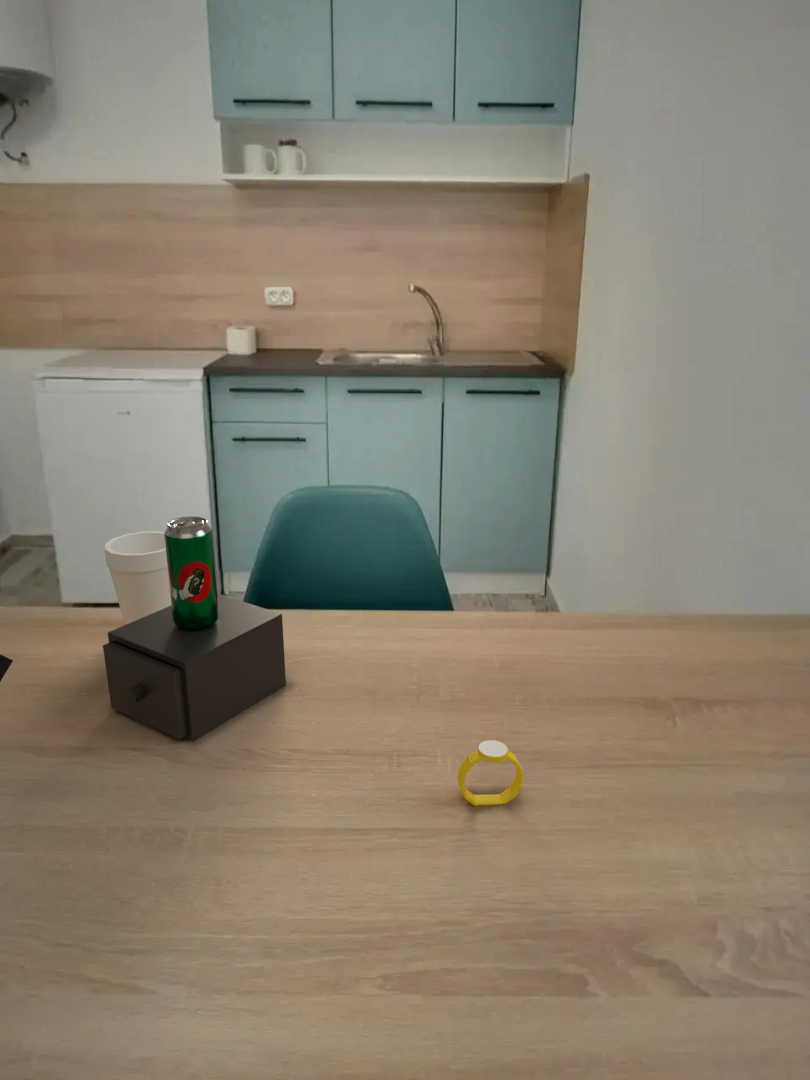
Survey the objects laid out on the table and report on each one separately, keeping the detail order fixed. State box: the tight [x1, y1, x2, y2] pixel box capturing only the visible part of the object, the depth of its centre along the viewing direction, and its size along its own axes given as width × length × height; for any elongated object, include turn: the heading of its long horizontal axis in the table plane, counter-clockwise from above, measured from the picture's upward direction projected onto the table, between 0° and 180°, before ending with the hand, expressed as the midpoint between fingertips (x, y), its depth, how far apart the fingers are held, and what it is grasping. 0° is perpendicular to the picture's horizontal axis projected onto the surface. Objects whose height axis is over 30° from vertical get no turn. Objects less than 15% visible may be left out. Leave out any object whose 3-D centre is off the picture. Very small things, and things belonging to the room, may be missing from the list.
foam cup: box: [104, 530, 171, 625], centre depth 111 cm, size 10×9×13 cm
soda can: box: [164, 516, 219, 631], centre depth 92 cm, size 5×5×12 cm
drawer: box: [102, 641, 188, 740], centre depth 94 cm, size 15×11×8 cm
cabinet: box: [107, 592, 287, 743], centre depth 95 cm, size 15×13×10 cm
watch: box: [457, 739, 524, 807], centre depth 78 cm, size 6×3×6 cm, turn 98°
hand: (0, 671), depth 77 cm, fingers closed
